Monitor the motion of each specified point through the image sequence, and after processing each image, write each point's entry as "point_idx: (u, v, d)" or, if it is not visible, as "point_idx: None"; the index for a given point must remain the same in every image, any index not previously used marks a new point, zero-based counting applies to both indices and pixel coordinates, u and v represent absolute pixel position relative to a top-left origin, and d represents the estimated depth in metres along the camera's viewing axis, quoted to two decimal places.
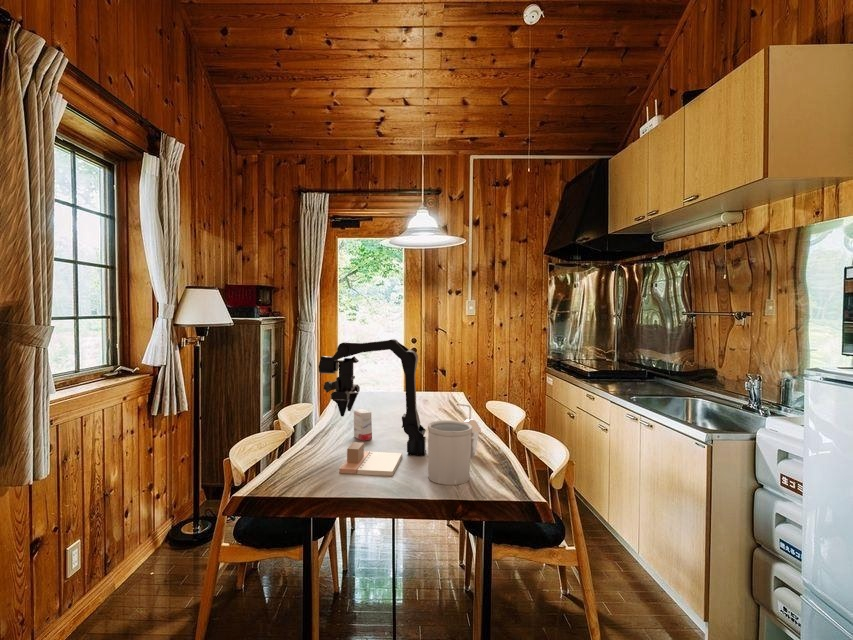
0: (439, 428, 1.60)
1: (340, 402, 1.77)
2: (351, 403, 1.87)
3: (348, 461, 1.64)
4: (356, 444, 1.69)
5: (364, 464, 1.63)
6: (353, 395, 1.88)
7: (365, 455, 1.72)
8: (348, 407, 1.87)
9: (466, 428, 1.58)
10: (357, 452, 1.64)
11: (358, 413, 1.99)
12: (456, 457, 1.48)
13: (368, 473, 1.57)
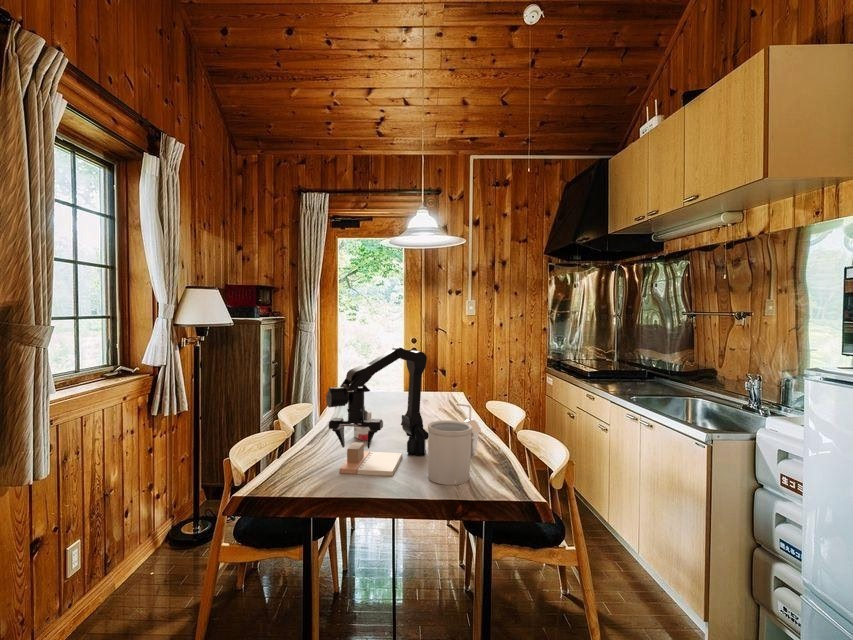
0: (439, 428, 1.60)
1: None
2: None
3: (348, 461, 1.64)
4: (356, 444, 1.69)
5: (364, 464, 1.63)
6: None
7: (365, 455, 1.72)
8: None
9: (466, 428, 1.58)
10: (357, 452, 1.64)
11: None
12: (456, 457, 1.48)
13: (368, 473, 1.57)
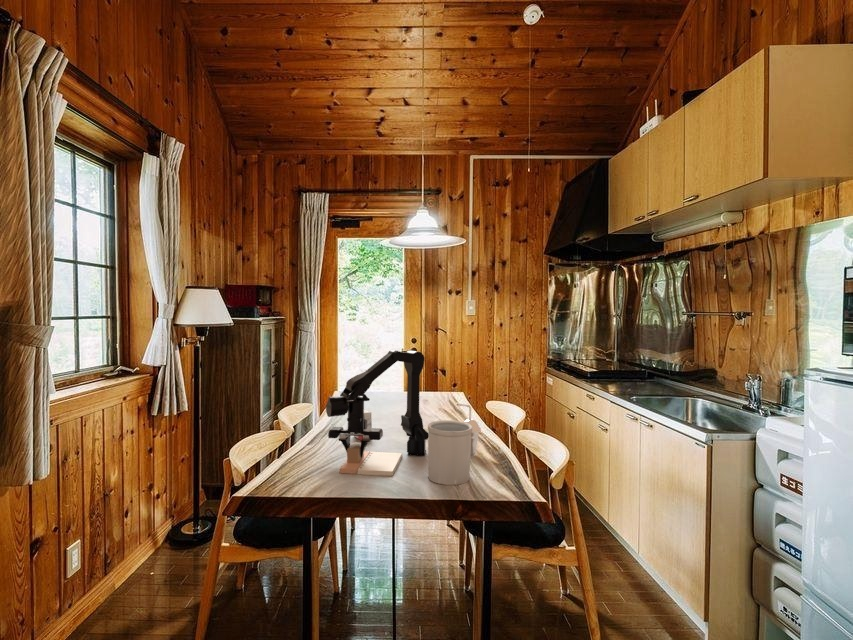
0: (439, 428, 1.60)
1: None
2: None
3: (348, 461, 1.64)
4: (356, 444, 1.69)
5: (364, 464, 1.63)
6: None
7: (365, 455, 1.72)
8: None
9: (466, 428, 1.58)
10: (357, 452, 1.64)
11: None
12: (456, 457, 1.48)
13: (368, 473, 1.57)
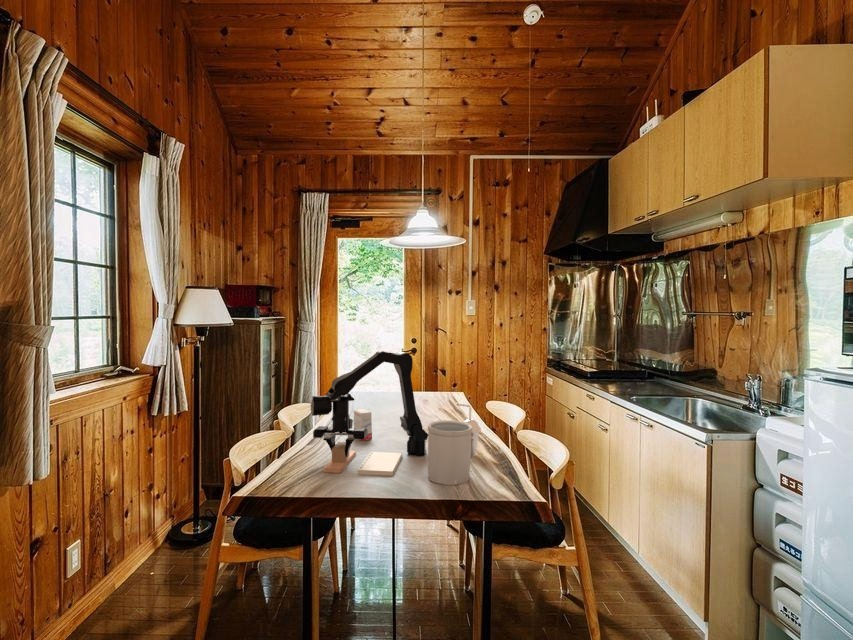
0: (439, 428, 1.60)
1: None
2: None
3: (333, 460, 1.64)
4: (341, 444, 1.70)
5: (364, 464, 1.63)
6: None
7: (350, 454, 1.73)
8: None
9: (466, 428, 1.58)
10: (342, 451, 1.64)
11: (358, 413, 1.99)
12: (456, 457, 1.48)
13: (368, 473, 1.57)
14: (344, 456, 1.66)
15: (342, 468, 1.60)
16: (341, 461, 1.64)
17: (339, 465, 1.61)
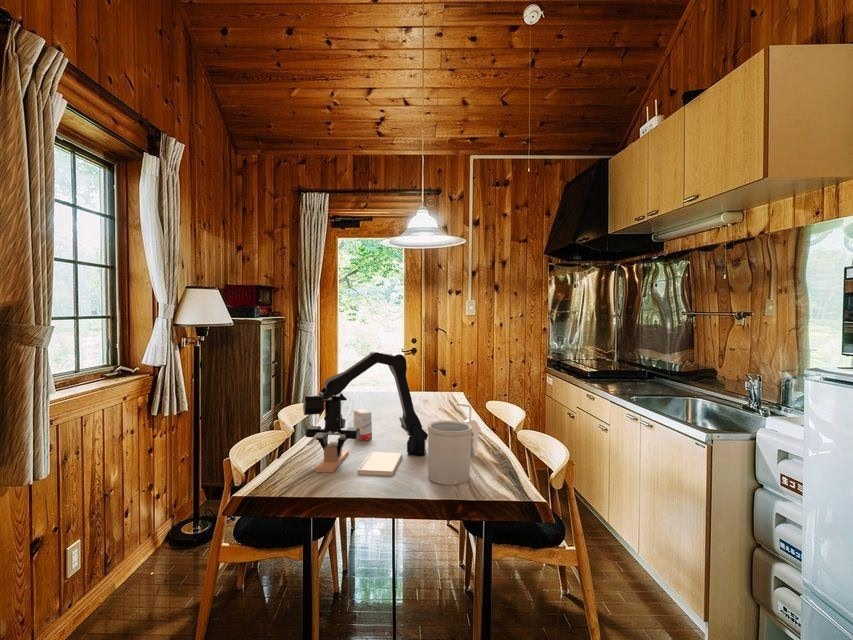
0: (439, 428, 1.60)
1: None
2: None
3: (325, 460, 1.65)
4: (334, 443, 1.70)
5: (364, 464, 1.63)
6: None
7: (343, 454, 1.73)
8: None
9: (466, 428, 1.58)
10: (334, 451, 1.64)
11: (358, 413, 1.99)
12: (456, 457, 1.48)
13: (368, 473, 1.57)
14: (336, 456, 1.66)
15: (334, 468, 1.61)
16: (333, 461, 1.64)
17: (331, 465, 1.62)
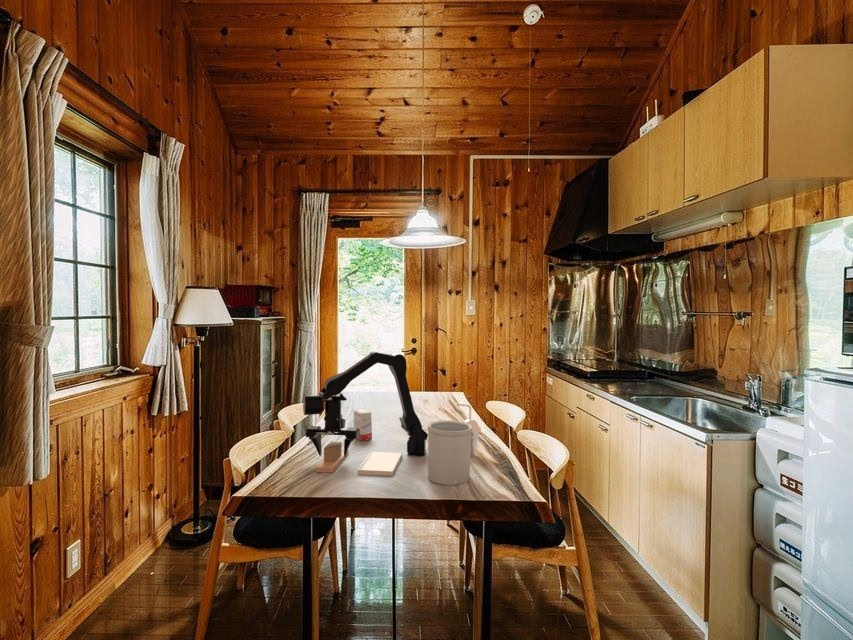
0: (439, 428, 1.60)
1: None
2: None
3: (325, 460, 1.65)
4: (334, 443, 1.70)
5: (364, 464, 1.63)
6: None
7: (343, 454, 1.73)
8: None
9: (466, 428, 1.58)
10: (334, 451, 1.64)
11: (358, 413, 1.99)
12: (456, 457, 1.48)
13: (368, 473, 1.57)
14: (336, 456, 1.66)
15: (334, 468, 1.61)
16: (333, 461, 1.64)
17: (331, 465, 1.62)
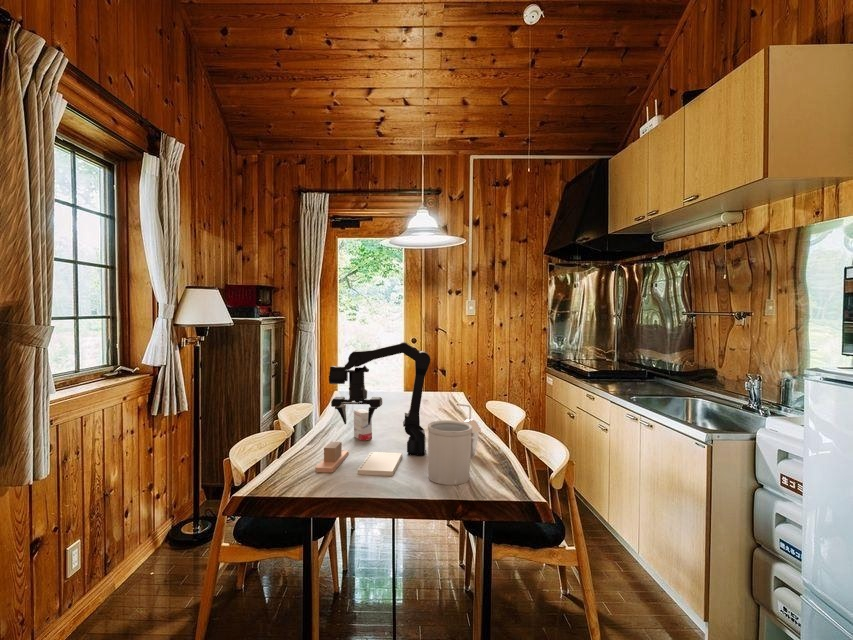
0: (439, 428, 1.60)
1: None
2: None
3: (325, 460, 1.65)
4: (334, 443, 1.70)
5: (364, 464, 1.63)
6: (369, 409, 1.77)
7: (343, 454, 1.73)
8: None
9: (466, 428, 1.58)
10: (334, 451, 1.64)
11: (358, 413, 1.99)
12: (456, 457, 1.48)
13: (368, 473, 1.57)
14: (336, 456, 1.66)
15: (334, 468, 1.61)
16: (333, 461, 1.64)
17: (331, 465, 1.62)
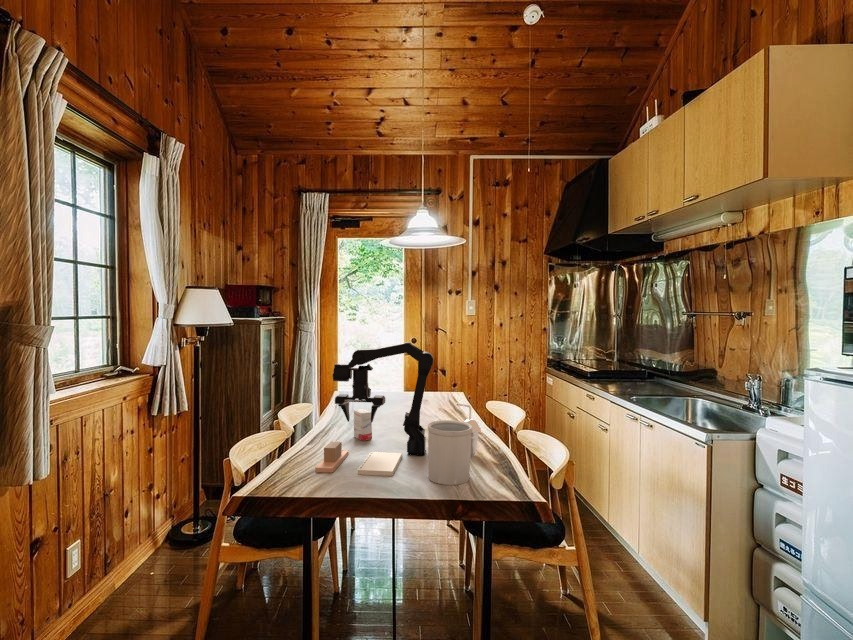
0: (439, 428, 1.60)
1: None
2: None
3: (325, 460, 1.65)
4: (334, 443, 1.70)
5: (364, 464, 1.63)
6: None
7: (343, 454, 1.73)
8: None
9: (466, 428, 1.58)
10: (334, 451, 1.64)
11: (358, 413, 1.99)
12: (456, 457, 1.48)
13: (368, 473, 1.57)
14: (336, 456, 1.66)
15: (334, 468, 1.61)
16: (333, 461, 1.64)
17: (331, 465, 1.62)
